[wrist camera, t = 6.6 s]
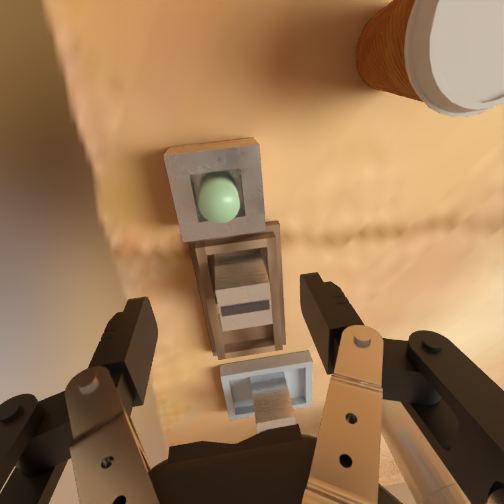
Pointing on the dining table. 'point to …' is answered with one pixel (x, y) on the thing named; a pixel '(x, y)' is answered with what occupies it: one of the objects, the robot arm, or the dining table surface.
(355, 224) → the dining table surface
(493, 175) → the dining table surface
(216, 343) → the frame
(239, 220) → the grey button housing
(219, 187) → the button
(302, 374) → the tray
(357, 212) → the dining table surface
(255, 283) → the block
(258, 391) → the block
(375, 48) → the disposable coffee cup
